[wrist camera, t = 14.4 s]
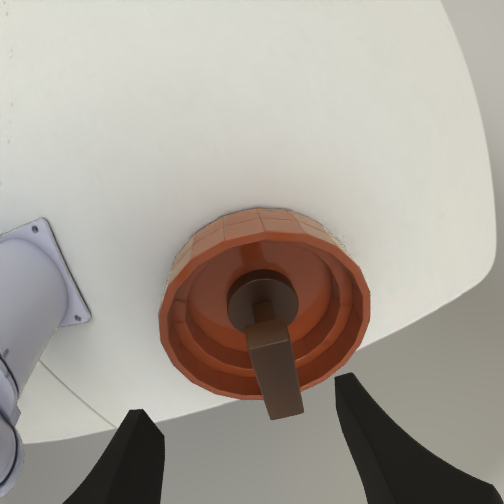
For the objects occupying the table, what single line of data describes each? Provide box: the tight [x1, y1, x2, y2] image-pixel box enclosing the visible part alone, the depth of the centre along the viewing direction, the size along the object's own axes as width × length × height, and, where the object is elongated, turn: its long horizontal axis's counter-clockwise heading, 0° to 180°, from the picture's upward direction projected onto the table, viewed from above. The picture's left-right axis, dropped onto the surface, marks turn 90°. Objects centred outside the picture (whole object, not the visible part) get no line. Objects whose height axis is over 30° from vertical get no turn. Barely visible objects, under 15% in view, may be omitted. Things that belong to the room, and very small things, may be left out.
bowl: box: [158, 208, 370, 400], centre depth 19 cm, size 12×12×4 cm
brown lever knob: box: [227, 269, 304, 420], centre depth 17 cm, size 4×6×7 cm
